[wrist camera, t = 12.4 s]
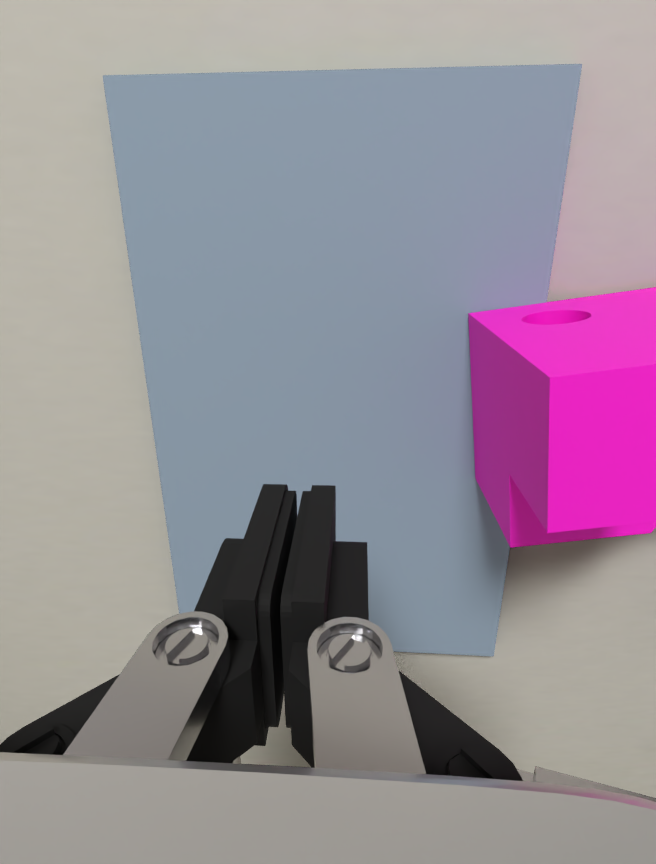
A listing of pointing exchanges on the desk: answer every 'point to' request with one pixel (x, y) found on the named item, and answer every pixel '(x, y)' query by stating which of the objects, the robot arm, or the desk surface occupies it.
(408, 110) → the rubber mat
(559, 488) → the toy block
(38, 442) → the desk surface
